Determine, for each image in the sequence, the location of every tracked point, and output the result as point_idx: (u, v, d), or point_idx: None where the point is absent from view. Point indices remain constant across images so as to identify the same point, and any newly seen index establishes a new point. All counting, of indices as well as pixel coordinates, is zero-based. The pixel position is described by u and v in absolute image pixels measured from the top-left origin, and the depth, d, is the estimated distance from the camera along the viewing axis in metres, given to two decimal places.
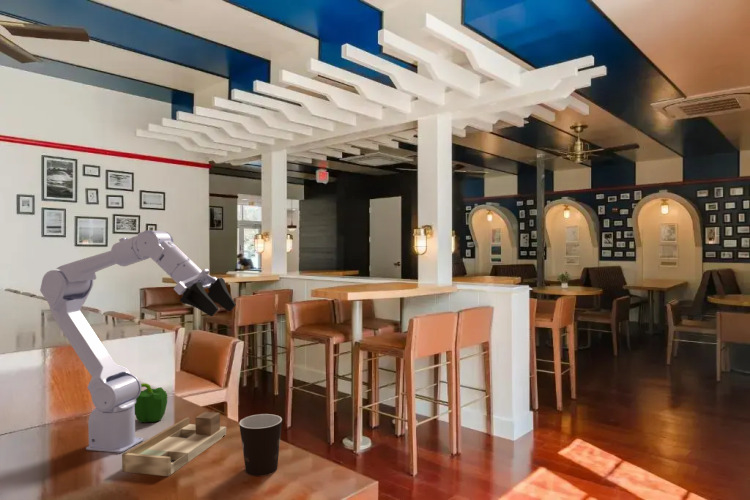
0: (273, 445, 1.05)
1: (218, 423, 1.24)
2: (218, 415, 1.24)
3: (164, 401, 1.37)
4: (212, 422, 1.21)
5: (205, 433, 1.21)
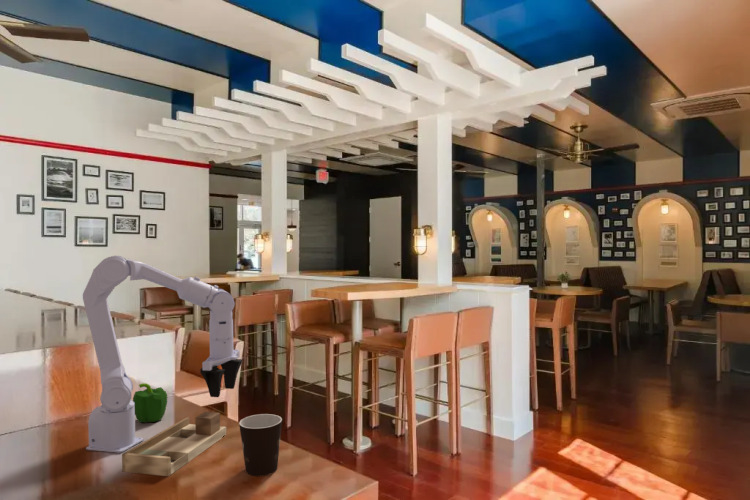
0: (273, 445, 1.05)
1: (218, 423, 1.24)
2: (218, 415, 1.24)
3: (164, 401, 1.37)
4: (212, 422, 1.21)
5: (205, 433, 1.21)
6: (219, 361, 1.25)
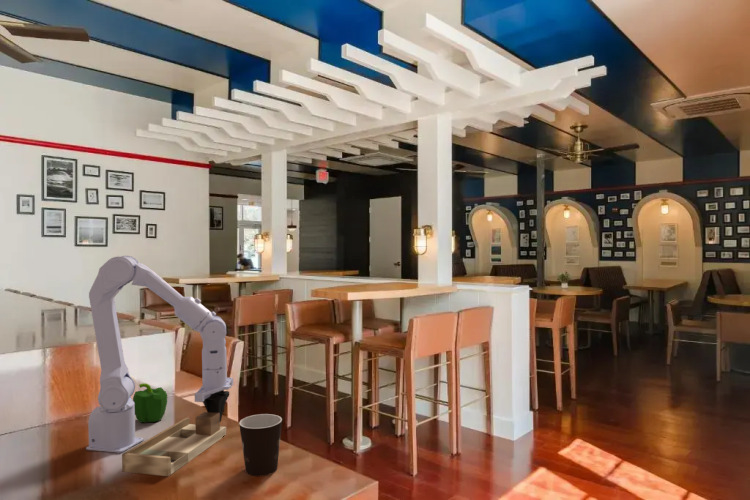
0: (273, 445, 1.05)
1: (218, 423, 1.24)
2: (218, 415, 1.24)
3: (164, 401, 1.37)
4: (212, 422, 1.21)
5: (205, 433, 1.21)
6: (212, 392, 1.22)
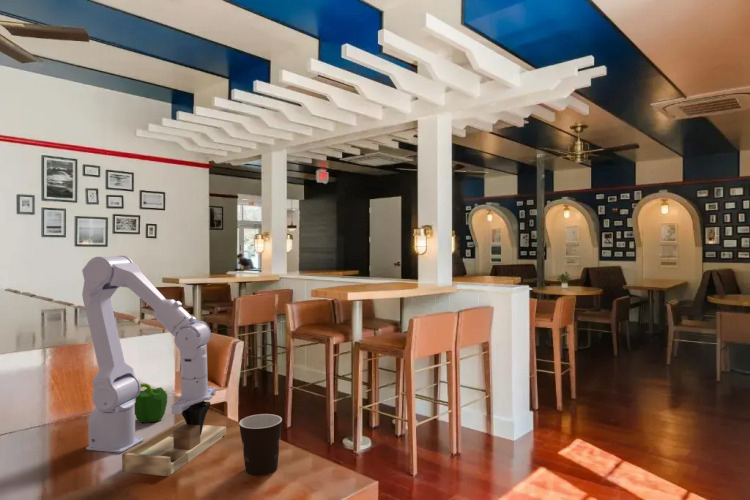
0: (273, 445, 1.05)
1: (198, 437, 1.16)
2: (198, 428, 1.16)
3: (164, 401, 1.37)
4: (191, 436, 1.13)
5: (184, 447, 1.13)
6: (191, 403, 1.14)
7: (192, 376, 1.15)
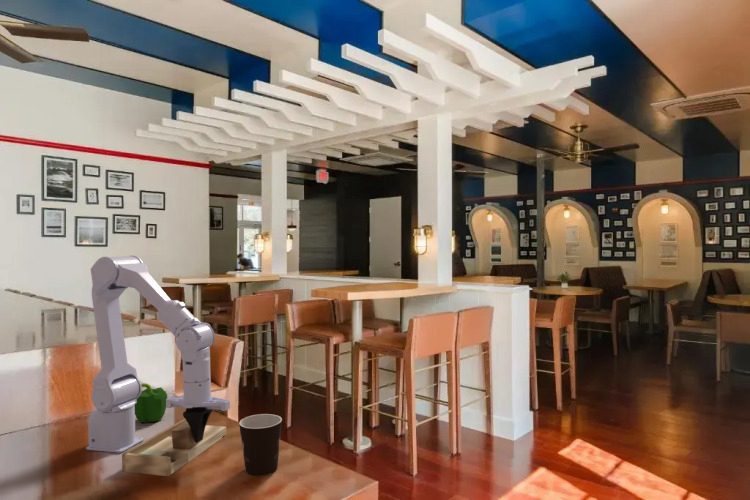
0: (273, 445, 1.05)
1: None
2: None
3: (164, 401, 1.37)
4: (189, 434, 1.13)
5: (183, 447, 1.13)
6: (176, 402, 1.14)
7: (193, 380, 1.12)
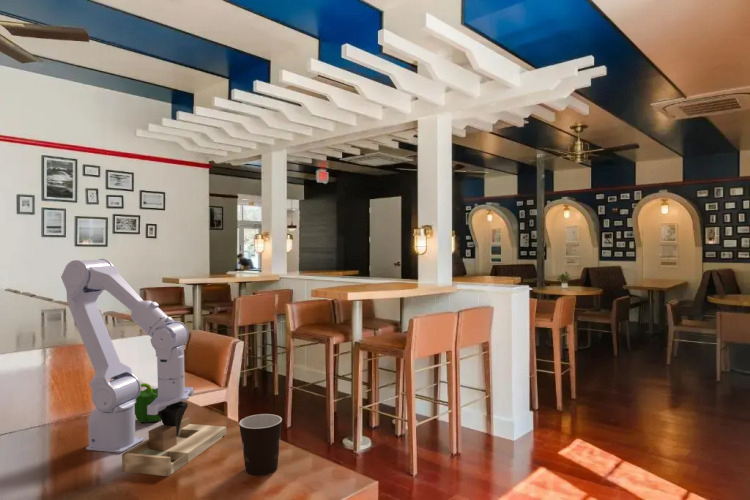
0: (273, 445, 1.05)
1: (174, 438, 1.15)
2: (174, 429, 1.15)
3: None
4: (165, 437, 1.12)
5: (158, 448, 1.12)
6: (167, 403, 1.13)
7: (167, 377, 1.15)
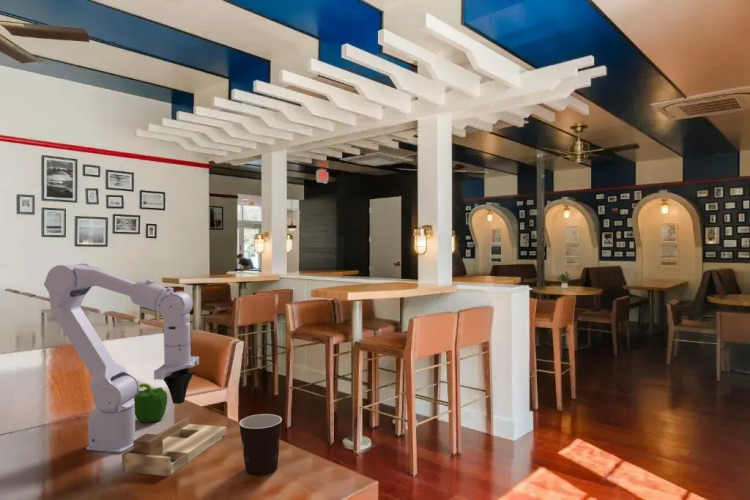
0: (273, 445, 1.05)
1: (160, 447, 1.10)
2: (160, 438, 1.10)
3: (164, 401, 1.37)
4: (151, 446, 1.07)
5: None
6: (173, 369, 1.16)
7: (176, 343, 1.18)
